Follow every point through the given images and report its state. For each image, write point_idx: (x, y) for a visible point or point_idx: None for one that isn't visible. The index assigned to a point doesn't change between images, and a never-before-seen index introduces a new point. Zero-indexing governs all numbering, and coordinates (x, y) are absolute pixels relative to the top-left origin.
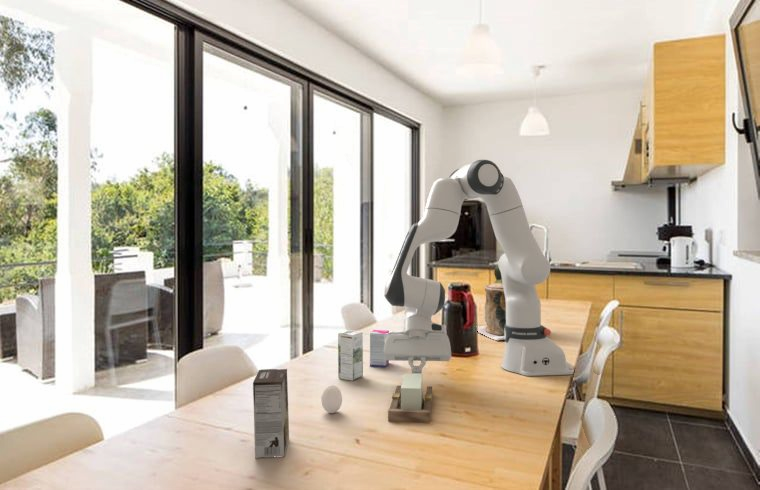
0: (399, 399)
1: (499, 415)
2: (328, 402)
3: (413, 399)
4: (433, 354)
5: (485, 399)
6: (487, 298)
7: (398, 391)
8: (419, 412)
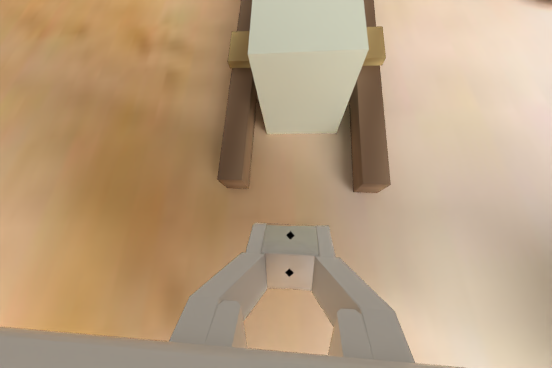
0: None
1: (68, 36)
2: None
3: None
4: (24, 341)
5: (55, 142)
6: None
7: (367, 108)
8: None
